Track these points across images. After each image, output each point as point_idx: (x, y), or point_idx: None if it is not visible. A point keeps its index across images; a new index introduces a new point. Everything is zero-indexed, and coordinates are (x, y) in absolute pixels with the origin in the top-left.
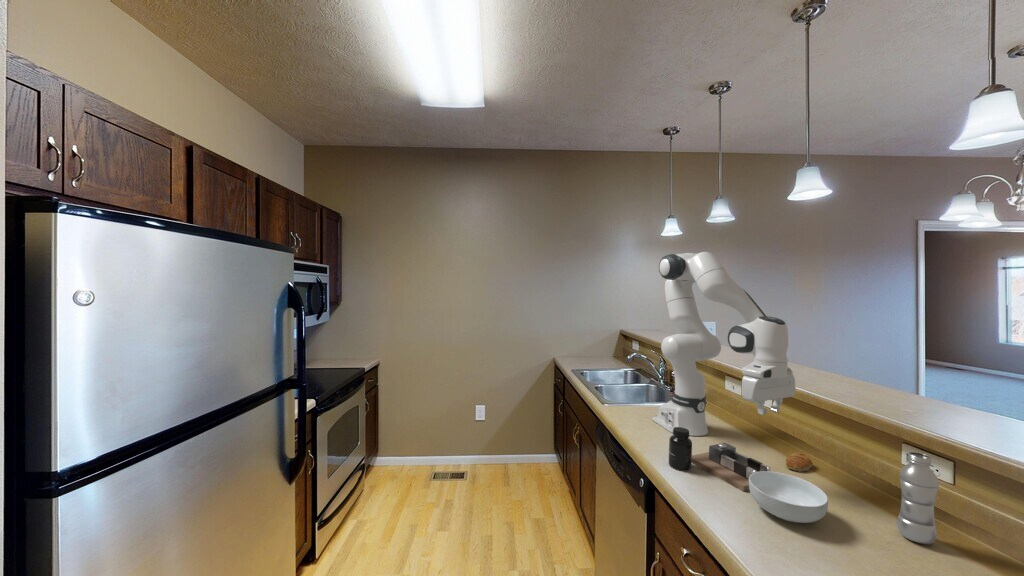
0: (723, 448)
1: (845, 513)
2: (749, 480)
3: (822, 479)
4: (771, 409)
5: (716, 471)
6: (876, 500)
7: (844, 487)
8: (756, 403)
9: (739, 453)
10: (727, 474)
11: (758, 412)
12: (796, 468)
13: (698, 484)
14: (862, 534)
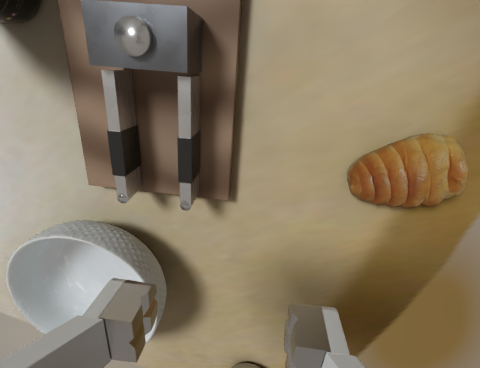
0: (124, 54)
1: (228, 307)
2: (17, 249)
3: (362, 237)
4: (292, 315)
5: (75, 96)
6: (349, 320)
7: (359, 275)
8: (9, 365)
9: (187, 94)
10: (96, 124)
11: (111, 284)
12: (350, 191)
13: (3, 104)
14: (184, 335)
